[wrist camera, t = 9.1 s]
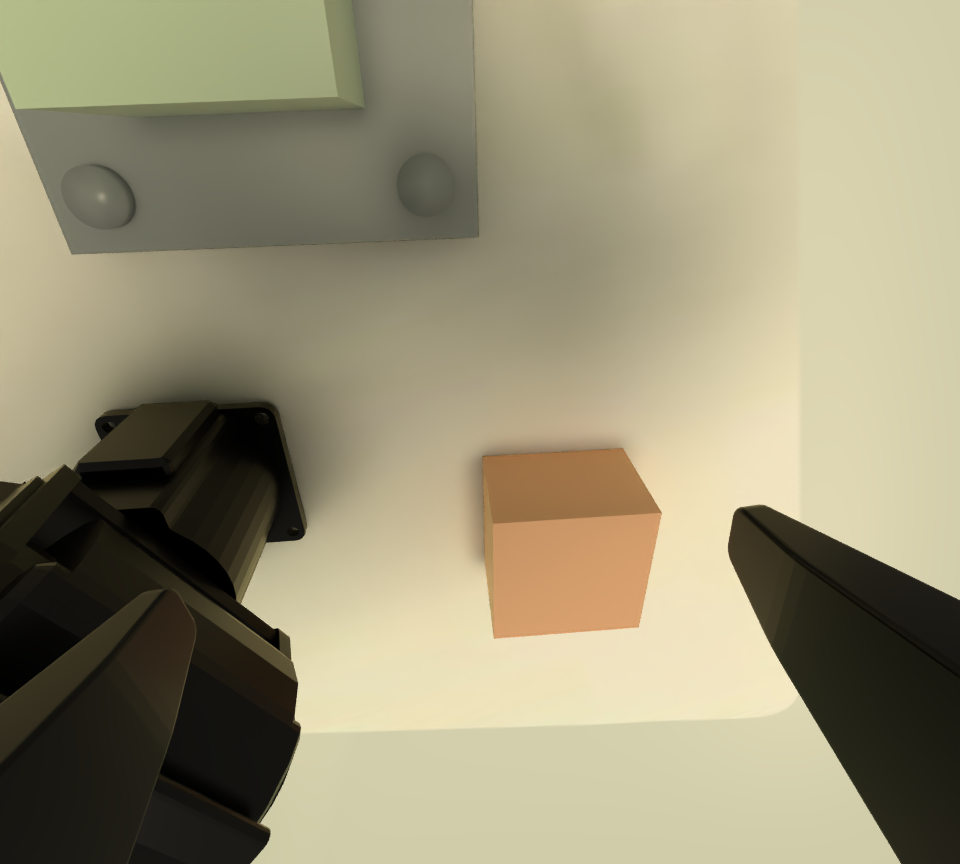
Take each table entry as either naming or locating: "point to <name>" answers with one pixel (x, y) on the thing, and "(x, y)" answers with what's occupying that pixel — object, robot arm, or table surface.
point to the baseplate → (284, 155)
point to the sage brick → (179, 56)
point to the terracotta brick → (566, 541)
